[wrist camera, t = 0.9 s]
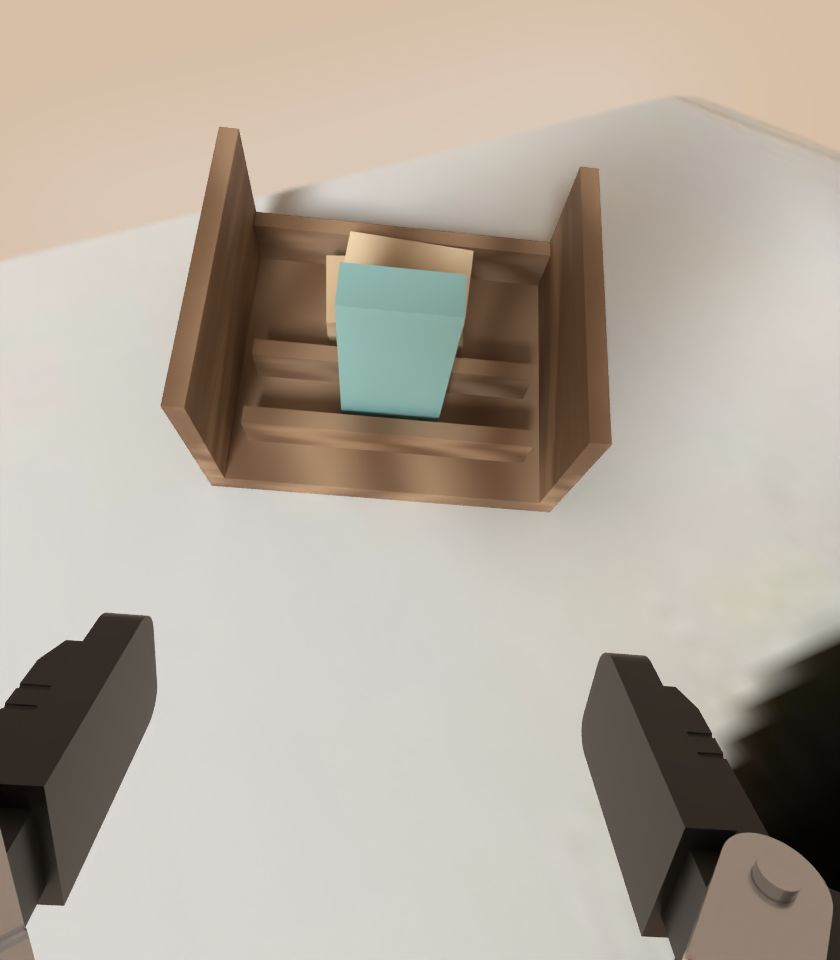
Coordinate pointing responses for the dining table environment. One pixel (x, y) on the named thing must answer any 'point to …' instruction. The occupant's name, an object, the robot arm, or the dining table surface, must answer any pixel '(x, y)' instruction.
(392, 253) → the offcut stack
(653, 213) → the dining table surface
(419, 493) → the walnut rack
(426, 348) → the teal board
